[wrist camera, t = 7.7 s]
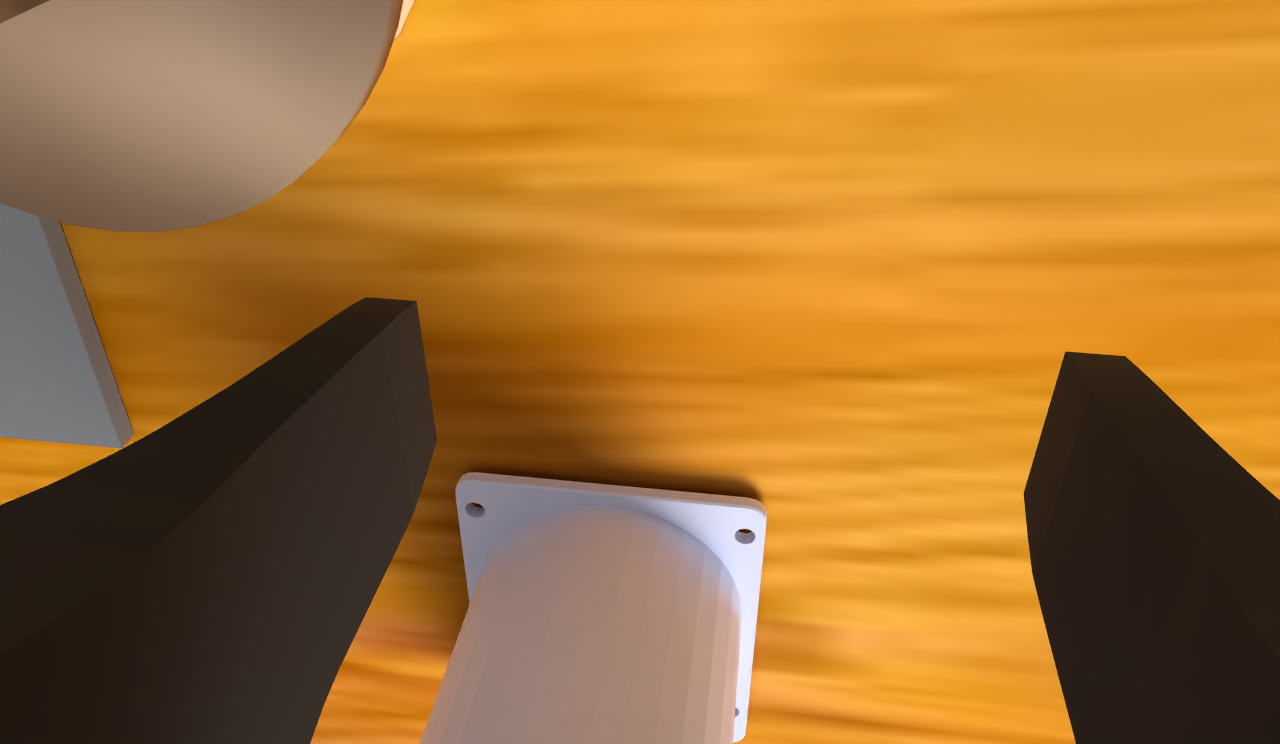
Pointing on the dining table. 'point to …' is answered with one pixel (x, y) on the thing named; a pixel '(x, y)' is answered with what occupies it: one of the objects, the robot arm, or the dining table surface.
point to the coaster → (51, 343)
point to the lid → (176, 102)
